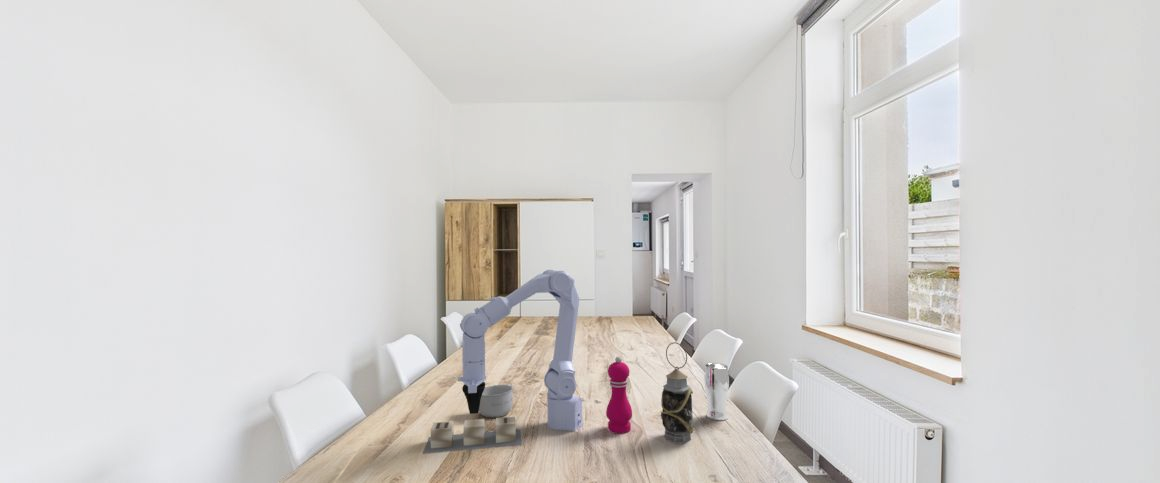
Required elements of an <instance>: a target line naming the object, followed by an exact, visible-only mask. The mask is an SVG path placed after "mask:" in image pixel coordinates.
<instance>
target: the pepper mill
mask: <svg viewBox="0 0 1160 483" xmlns="http://www.w3.org/2000/svg"><path fill="white" fill-rule="evenodd" d="M614 360H615V362H612V363H611V364H610V365H609V366H608V368H607V375H608V377H609V378H610V379H609V386H610V387H611V397H610V399H609V401H608V404H607V406H606V412H605V415H606V418H607V419H608V420H609V421H607V429H608V431H609V432H611V433H613V434H627V433H629V432H631V428H632V426H631V425H632V424H631V421H630V420H631V419H632V418H633V409H632V407H631V406H632V405H631V403H630V401H629V399H628V396H627V387H628V386H629V384H628V382H629V380H628V377H629V376H630V367H629V366H628V365H627V364H626V363H625V362H622V357H621V356H616V357H615V358H614Z"/></svg>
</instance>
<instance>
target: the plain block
mask: <svg viewBox="0 0 1160 483" xmlns="http://www.w3.org/2000/svg"><path fill="white" fill-rule="evenodd" d="M485 423H486V422H485V418H479V419H477V418H476V419H465V420H464V424H463V434H464V446H465V445H477V444H484V438H485V432H486V431H485V429H486V428H485V425H486V424H485Z"/></svg>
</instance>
